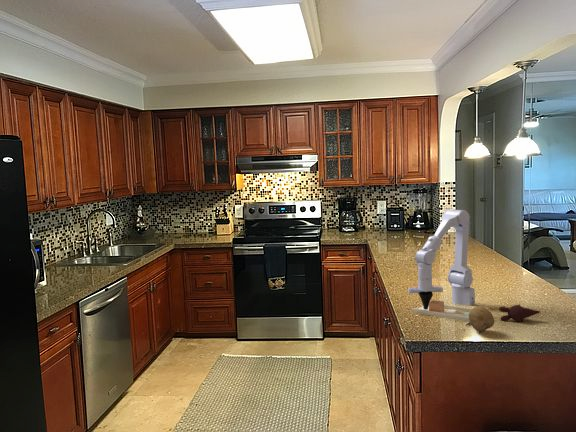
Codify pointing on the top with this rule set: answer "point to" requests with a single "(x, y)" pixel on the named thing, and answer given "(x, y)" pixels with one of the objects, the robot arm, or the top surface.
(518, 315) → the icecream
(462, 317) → the lane
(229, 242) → the top surface
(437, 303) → the block
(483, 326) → the natural sponge
